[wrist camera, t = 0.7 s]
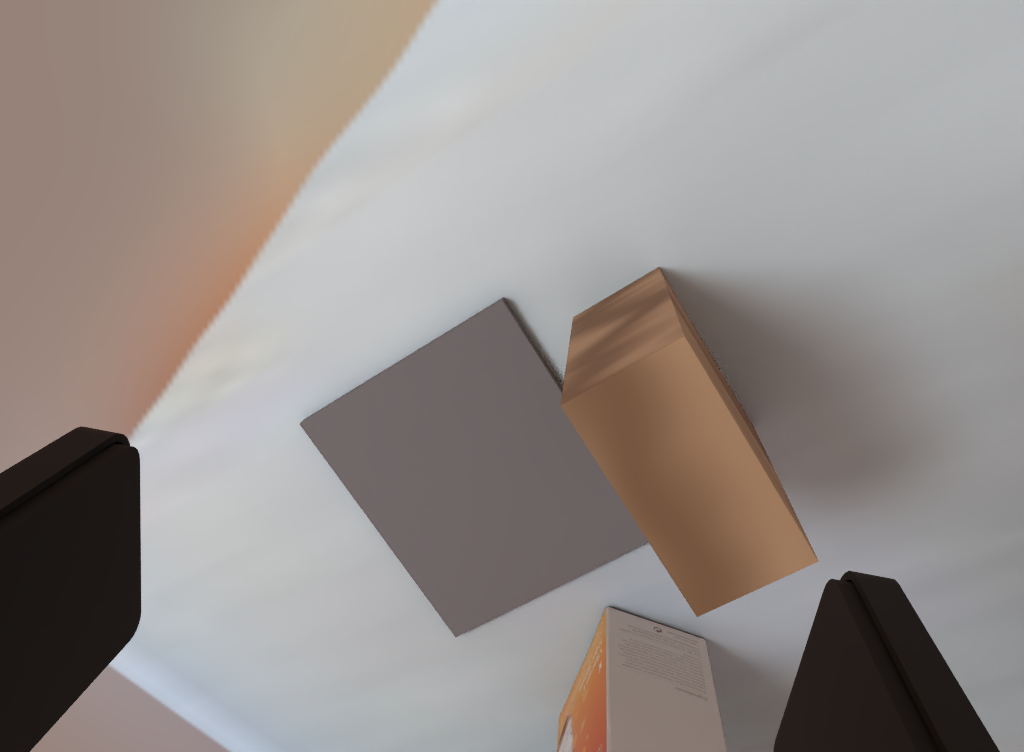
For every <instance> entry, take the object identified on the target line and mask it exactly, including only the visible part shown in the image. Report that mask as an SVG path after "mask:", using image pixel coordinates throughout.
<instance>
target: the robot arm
mask: <svg viewBox="0 0 1024 752" xmlns="http://www.w3.org/2000/svg"><path fill="white" fill-rule="evenodd" d="M140 617H141V538H140V457H139V453H138V450H137V449H136V448H135V447H132V446H130V443H129V441H128V439H127V437H126V436H125V435H123V434H119V433H114V432H108V431H103V430H98V429H92V428H87V427H78V428H76V429H74V430H72V431H70V432H69V433H67V434H65V435H64V436H62V437H60V438H59V439H57V440H55V441H54V442H52V443H50V444H49V445H47V446H45V447H44V448H42V449H40V450H39V451H37V452H35V453H34V454H32V455H31V456H29V457H27V458H25V459H24V460H22V461H20V462H19V463H17V464H15V465H14V466H12V467H10V468H9V469H7V470H5V471H4V472H2V473H0V752H30V751H31V749H32V748H33V747H34V746H35V745H36V744H37V743H38V742H39V741H40V740H41V738H42V737H43V736H44V735H45V734H46V733H47V732H48V731H49V730H50V728H51V727H52V726H53V725H54V724H55V723H56V722H57V721H58V720H59V718H60V717H61V716H62V715H63V714H64V713H65V712H66V711H67V710H68V708H69V707H70V706H71V705H72V704H73V703H74V702H75V701H76V700H77V699H78V698H79V696H80V695H81V694H82V693H83V692H84V691H85V690H86V689H87V688H88V686H89V685H90V684H91V683H92V682H93V681H94V680H95V679H96V678H97V676H98V675H99V674H100V673H101V672H102V671H103V670H104V669H105V668H106V667H107V665H108V664H109V663H110V662H111V661H112V660H113V659H114V658H115V657H116V655H117V654H118V653H119V652H120V651H121V650H122V649H123V648H124V647H125V645H126V644H127V643H128V642H129V641H130V640H131V638H132V637H133V635H134V634H135V632H136V630H137V627H138V624H139V621H140ZM774 752H1000V751H999V750H998V748H997V746H996V745H995V743H994V741H993V740H992V738H991V736H990V735H989V733H988V731H987V730H986V728H985V726H984V725H983V723H982V721H981V720H980V718H979V716H978V715H977V713H976V711H975V710H974V708H973V706H972V705H971V703H970V701H969V700H968V698H967V696H966V695H965V693H964V691H963V690H962V688H961V687H960V685H959V683H958V682H957V680H956V678H955V677H954V675H953V673H952V672H951V670H950V668H949V667H948V665H947V663H946V662H945V660H944V658H943V657H942V655H941V653H940V652H939V650H938V648H937V647H936V645H935V643H934V642H933V640H932V638H931V637H930V635H929V633H928V632H927V630H926V628H925V627H924V625H923V623H922V622H921V620H920V618H919V617H918V615H917V613H916V612H915V610H914V608H913V607H912V605H911V603H910V602H909V600H908V598H907V597H906V595H905V593H904V592H903V590H902V588H901V587H900V585H899V584H898V583H897V581H896V580H894V579H890V578H885V577H879V576H874V575H869V574H863V573H858V572H853V571H848V572H846V573H845V574H844V575H843V576H842V578H841V580H835V579H831V580H829V581H828V582H827V584H826V586H825V588H824V591H823V594H822V597H821V600H820V603H819V606H818V610H817V613H816V616H815V619H814V622H813V625H812V628H811V631H810V635H809V638H808V641H807V644H806V647H805V650H804V653H803V656H802V659H801V663H800V666H799V669H798V672H797V675H796V678H795V681H794V684H793V687H792V691H791V694H790V697H789V700H788V703H787V706H786V709H785V712H784V715H783V719H782V722H781V725H780V728H779V731H778V734H777V737H776V741H775V745H774Z"/></svg>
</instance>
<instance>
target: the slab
mask: <svg viewBox="0 0 1024 752" xmlns="http://www.w3.org/2000/svg"><path fill="white" fill-rule="evenodd" d="M560 406H561V407H562V409H563V411H564V412H565V414H566V415H567V417H568V418H569V420H570V421H571V423H572V424H573V426H574V428H575V429H576V431H577V432H578V434H579V435H580V437H581V438H582V440H583V441H584V443H585V445H586V446H587V448H588V449H589V451H590V452H591V454H592V455H593V457H594V458H595V460H596V462H597V463H598V465H599V466H600V468H601V469H602V471H603V472H604V474H605V475H606V477H607V479H608V480H609V482H610V483H611V485H612V486H613V488H614V489H615V491H616V492H617V494H618V496H619V497H620V499H621V500H622V502H623V503H624V505H625V506H626V508H627V509H628V511H629V513H630V514H631V516H632V517H633V519H634V520H635V522H636V523H637V525H638V526H639V528H640V530H641V531H642V533H643V534H644V536H645V537H646V539H647V540H648V542H649V543H650V545H651V547H652V548H653V550H654V551H655V553H656V554H657V556H658V557H659V559H660V560H661V562H662V564H663V565H664V567H665V568H666V570H667V571H668V573H669V574H670V576H671V577H672V579H673V581H674V582H675V584H676V585H677V587H678V588H679V590H680V591H681V593H682V594H683V596H684V598H685V599H686V601H687V602H688V604H689V605H690V607H691V608H692V610H693V611H694V613H695V615H696V616H697V617H698V616H700V615H702V614H705V613H707V612H709V611H711V610H713V609H716V608H718V607H720V606H722V605H724V604H726V603H729V602H731V601H733V600H735V599H737V598H739V597H742V596H744V595H746V594H748V593H750V592H753V591H755V590H757V589H759V588H761V587H763V586H766V585H768V584H770V583H772V582H774V581H776V580H779V579H781V578H783V577H785V576H787V575H790V574H792V573H794V572H796V571H798V570H800V569H803V568H805V567H807V566H809V565H811V564H813V563H816V562H818V559H817V557H816V555H815V553H814V551H813V549H812V547H811V545H810V543H809V540H808V538H807V536H806V534H805V532H804V530H803V528H802V526H801V524H800V522H799V520H798V518H797V516H796V514H795V512H794V509H793V507H792V505H791V503H790V501H789V499H788V497H787V495H786V493H785V491H784V489H783V487H782V485H781V483H780V481H779V478H778V476H777V474H776V472H775V470H774V468H773V466H772V464H771V462H770V460H769V458H768V456H767V454H766V452H765V450H764V447H763V445H762V443H761V441H760V439H759V437H758V435H757V433H756V431H755V429H754V427H753V425H752V424H751V422H750V420H749V419H748V417H747V415H746V414H745V412H744V410H743V408H742V407H741V405H740V403H739V402H738V400H737V398H736V397H735V395H734V393H733V392H732V390H731V388H730V386H729V385H728V383H727V381H726V380H725V378H724V376H723V375H722V373H721V371H720V369H719V368H718V366H717V364H716V363H715V361H714V359H713V358H712V356H711V354H710V353H709V351H708V349H707V347H706V346H705V344H704V342H703V341H702V339H701V337H700V336H699V334H698V332H697V331H696V329H695V327H694V325H693V324H692V322H691V320H690V319H689V317H688V315H687V314H686V312H685V310H684V309H683V307H682V305H681V303H680V302H679V300H678V298H677V297H676V295H675V293H674V292H673V290H672V288H671V287H670V285H669V283H668V281H667V280H666V278H665V276H664V275H663V273H662V271H661V270H660V268H659V267H658V268H656V269H655V270H653V271H651V272H650V273H648V274H646V275H645V276H643V277H641V278H640V279H638V280H636V281H634V282H633V283H631V284H629V285H628V286H626V287H624V288H623V289H621V290H619V291H617V292H616V293H614V294H612V295H611V296H609V297H607V298H606V299H604V300H602V301H600V302H599V303H597V304H595V305H594V306H592V307H590V308H589V309H587V310H585V311H584V312H582V313H580V314H578V315H577V316H575V317H573V323H572V330H571V336H570V343H569V350H568V357H567V364H566V371H565V377H564V384H563V391H562V398H561V405H560Z"/></svg>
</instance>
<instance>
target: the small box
mask: <svg viewBox="0 0 1024 752" xmlns="http://www.w3.org/2000/svg"><path fill="white" fill-rule="evenodd" d="M557 752H727V748H726V743H725V738H724V733H723V727H722V722H721V717H720V711H719V706H718V701H717V696H716V691H715V686H714V681H713V676H712V670H711V666H710V661H709V656H708V651H707V646H706V641H705V640H704V639H702V638H699V637H696V636H693V635H690V634H687V633H684V632H681V631H679V630H676V629H673V628H670V627H667V626H664V625H661V624H658V623H655V622H652V621H649V620H646V619H643V618H640V617H637V616H634V615H631V614H628V613H625V612H622V611H619V610H616V609H613V608H611V607H606V608H605V610H604V613H603V615H602V618H601V620H600V623H599V626H598V629H597V631H596V634H595V636H594V639H593V641H592V643H591V646H590V648H589V650H588V653H587V655H586V657H585V660H584V662H583V664H582V666H581V668H580V671H579V673H578V675H577V677H576V680H575V682H574V684H573V687H572V689H571V691H570V694H569V696H568V698H567V701H566V703H565V705H564V707H563V710H562V712H561V714H560V717H559V729H558V744H557Z"/></svg>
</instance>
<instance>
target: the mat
mask: <svg viewBox="0 0 1024 752" xmlns="http://www.w3.org/2000/svg"><path fill="white" fill-rule="evenodd" d="M562 391H563V389H562V387H561V386H560V384H559V383H558V381H557V380H556V378H555V377H554V375H553V373H552V372H551V370H550V369H549V367H548V366H547V364H546V363H545V361H544V359H543V358H542V356H541V355H540V353H539V352H538V350H537V349H536V347H535V345H534V344H533V342H532V341H531V339H530V338H529V336H528V335H527V333H526V331H525V330H524V328H523V327H522V325H521V324H520V322H519V321H518V319H517V317H516V316H515V314H514V313H513V311H512V310H511V308H510V307H509V305H508V303H507V302H506V300H505V299H504V297H503V298H502V299H500V300H498V301H497V302H495V303H494V304H492V305H490V306H489V307H487V308H485V309H484V310H482V311H480V312H479V313H477V314H476V315H474V316H472V317H471V318H469V319H467V320H466V321H464V322H463V323H461V324H459V325H458V326H456V327H454V328H453V329H451V330H449V331H448V332H446V333H445V334H443V335H441V336H440V337H438V338H436V339H435V340H433V341H431V342H430V343H428V344H427V345H425V346H423V347H422V348H420V349H418V350H417V351H415V352H414V353H412V354H410V355H409V356H407V357H405V358H404V359H402V360H400V361H399V362H397V363H396V364H394V365H392V366H391V367H389V368H387V369H386V370H384V371H382V372H381V373H379V374H378V375H376V376H374V377H373V378H371V379H369V380H368V381H366V382H365V383H363V384H361V385H360V386H358V387H356V388H355V389H353V390H351V391H350V392H348V393H347V394H345V395H343V396H342V397H340V398H338V399H337V400H335V401H334V402H332V403H330V404H329V405H327V406H325V407H324V408H322V409H320V410H319V411H317V412H316V413H314V414H312V415H311V416H309V417H307V418H306V419H304V420H303V421H302V422H301V423H300V425H301V427H302V428H303V429H304V431H305V432H306V434H307V435H308V436H309V438H310V439H311V440H312V442H313V443H314V444H315V446H316V447H317V449H318V450H319V451H320V453H321V454H322V455H323V457H324V458H325V459H326V461H327V462H328V464H329V465H330V466H331V468H332V469H333V470H334V472H335V473H336V474H337V476H338V477H339V479H340V480H341V481H342V483H343V484H344V485H345V487H346V488H347V490H348V491H349V492H350V494H351V495H352V496H353V498H354V499H355V500H356V502H357V503H358V505H359V506H360V507H361V509H362V510H363V511H364V513H365V514H366V515H367V517H368V518H369V520H370V521H371V522H372V524H373V525H374V526H375V528H376V529H377V530H378V532H379V533H380V535H381V536H382V537H383V539H384V540H385V541H386V543H387V544H388V545H389V547H390V548H391V550H392V551H393V552H394V554H395V555H396V556H397V558H398V559H399V560H400V562H401V563H402V565H403V566H404V567H405V569H406V570H407V571H408V573H409V574H410V576H411V577H412V578H413V580H414V581H415V582H416V584H417V585H418V586H419V588H420V589H421V591H422V592H423V593H424V595H425V596H426V597H427V599H428V600H429V601H430V603H431V604H432V606H433V607H434V608H435V610H436V611H437V612H438V614H439V615H440V616H441V618H442V619H443V621H444V622H445V623H446V625H447V626H448V627H449V629H450V630H451V631H452V633H453V634H454V636H455V637H457V636H459V635H461V634H463V633H465V632H467V631H469V630H471V629H474V628H476V627H478V626H480V625H482V624H484V623H486V622H488V621H490V620H492V619H494V618H496V617H498V616H500V615H502V614H504V613H506V612H508V611H510V610H512V609H514V608H516V607H518V606H520V605H522V604H524V603H526V602H528V601H530V600H532V599H534V598H536V597H538V596H540V595H542V594H544V593H546V592H548V591H550V590H552V589H554V588H557V587H559V586H561V585H563V584H565V583H567V582H569V581H571V580H573V579H575V578H577V577H579V576H581V575H583V574H585V573H587V572H589V571H591V570H593V569H595V568H597V567H599V566H601V565H603V564H605V563H607V562H609V561H611V560H613V559H615V558H617V557H619V556H621V555H623V554H625V553H627V552H629V551H631V550H633V549H635V548H637V547H639V546H642V545H644V544H646V543H648V540H647V539H646V537H645V536H644V534H643V533H642V531H641V530H640V528H639V526H638V525H637V523H636V522H635V520H634V519H633V517H632V516H631V514H630V513H629V511H628V509H627V508H626V506H625V505H624V503H623V502H622V500H621V499H620V497H619V496H618V494H617V492H616V491H615V489H614V488H613V486H612V485H611V483H610V482H609V480H608V479H607V477H606V475H605V474H604V472H603V471H602V469H601V468H600V466H599V465H598V463H597V462H596V460H595V458H594V457H593V455H592V454H591V452H590V451H589V449H588V448H587V446H586V445H585V443H584V441H583V440H582V438H581V437H580V435H579V434H578V432H577V431H576V429H575V428H574V426H573V424H572V423H571V421H570V420H569V418H568V417H567V415H566V414H565V412H564V411H563V409H562V407H561V406H560V405H561V398H562Z"/></svg>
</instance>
